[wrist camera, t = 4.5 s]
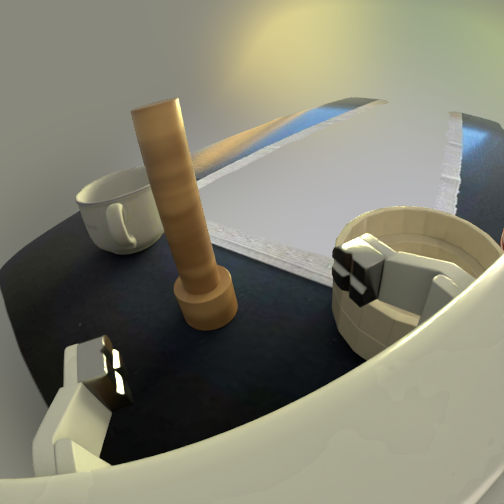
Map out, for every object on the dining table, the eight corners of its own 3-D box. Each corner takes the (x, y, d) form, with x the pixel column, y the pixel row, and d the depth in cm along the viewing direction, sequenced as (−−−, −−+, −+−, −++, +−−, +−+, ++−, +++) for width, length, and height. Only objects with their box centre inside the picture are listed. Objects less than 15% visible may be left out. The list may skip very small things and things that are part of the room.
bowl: (512, 325, 16) (539, 272, 13) (398, 422, 14) (428, 375, 11) (416, 244, 27) (424, 194, 24) (302, 290, 24) (299, 233, 21)
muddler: (244, 319, 23) (198, 95, 13) (189, 338, 22) (113, 118, 13) (228, 285, 26) (186, 93, 17) (180, 301, 25) (119, 112, 16)
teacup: (111, 226, 39) (92, 175, 35) (183, 210, 40) (169, 154, 35) (80, 292, 28) (47, 227, 23) (174, 275, 28) (149, 200, 24)
